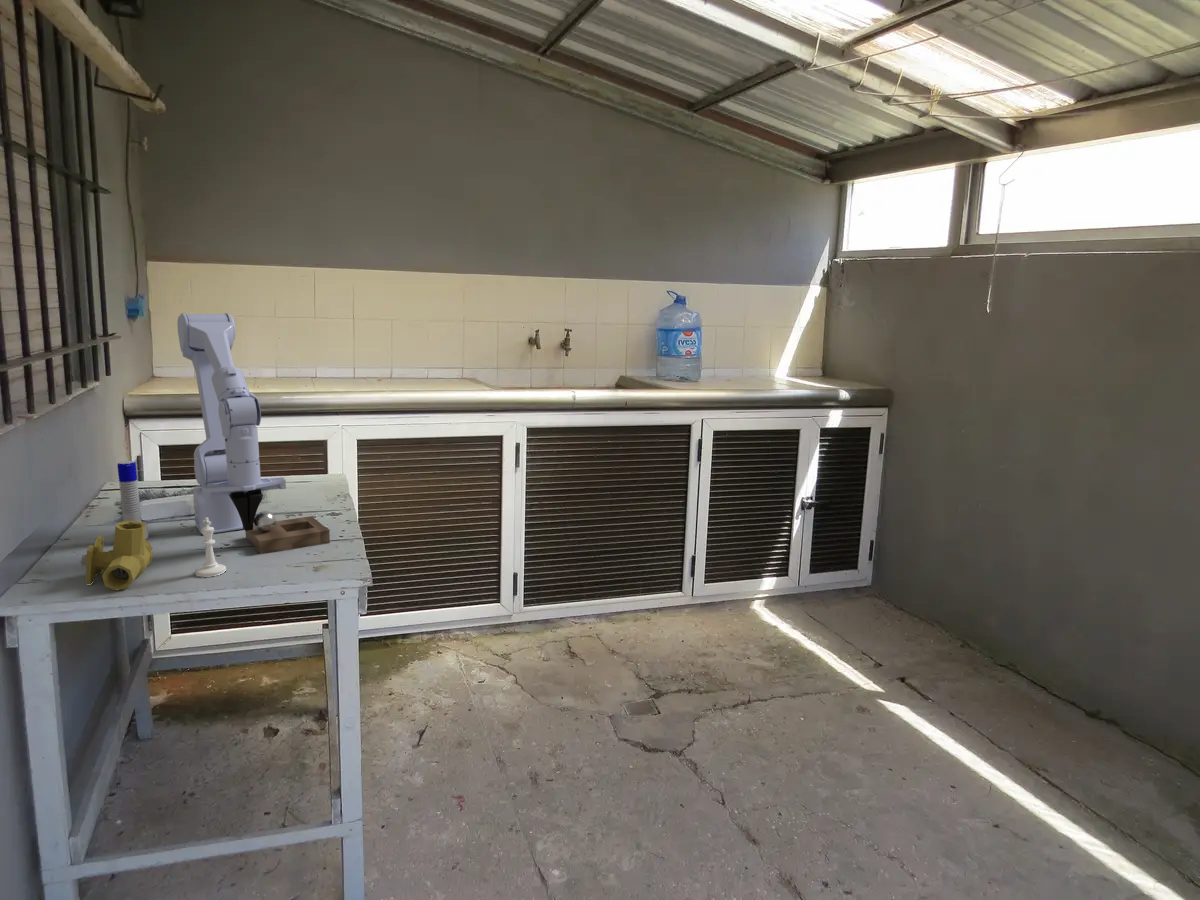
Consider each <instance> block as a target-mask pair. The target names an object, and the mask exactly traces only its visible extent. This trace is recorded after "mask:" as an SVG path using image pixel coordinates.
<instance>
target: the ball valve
mask: <svg viewBox="0 0 1200 900" xmlns="http://www.w3.org/2000/svg"><path fill="white" fill-rule="evenodd" d="M114 528H115V529H114V535H113V536H114V538H113V547H112V549H110V550H108V551H104V539H105V538H104V536H103V535H99V536H97V538H96V539H95V542H94V545H91V544H90V545H88V547H87V550H86V554H83V555H81V561H80V563H81V565H82V566H84V567H85V566H86V570H85V571H86V574H85V576H86V577H85V585H86V584H91V583H92V582H93V581H95V579H96V576H97V574H99V575H101V574H102V575H101V576H102V581H103V583H104V586H105V587H107V588H109V589H111V590H113V591H115V590H116V589H122V590H127V589H128V588H129V587H130V586H131V584H132V583H133V582H134V580H135V579H136V578H138V577H139V576H140V575H142V574H143V573H144V572H145V570H146V568H148V567H149V566H150V564H151V563H152V561H153V547H152V545H151V544H150V542H149V540H148V539H146V540H145V523H142V522H139V521H124V522H123V521H119V522H118V523H116V525H115V527H114ZM103 571H104V572H103ZM102 572H103V573H102ZM93 583H94V582H93ZM93 583H92V584H93Z"/></svg>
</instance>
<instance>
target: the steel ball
mask: <svg viewBox="0 0 1200 900" xmlns="http://www.w3.org/2000/svg"><path fill="white" fill-rule="evenodd" d="M276 521H277V518H276V516H275V514H273V512H270V511H268V510H262V511H260V512H258V513H256V515H255V519H254V525H255V527H256V528H257V529H258V530H259V531H263V532H266V531H270V530H271V529H273V528H274V526H275V524H276Z"/></svg>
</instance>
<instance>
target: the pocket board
mask: <svg viewBox="0 0 1200 900" xmlns="http://www.w3.org/2000/svg"><path fill="white" fill-rule="evenodd" d="M244 531H245V530H244ZM245 539H248V540H249V541H250V542H251V543H252V544H251V543H250V542H249V541H248V540H247V541H248V542H249V543H250V544H251V545H252V547H253V548H254V549H255V548H256V549H257V550H258V551H257V550H256V549H255V550H256V551H257V553H259V554H260V555H262V554H261V553H263V554H268V553H269V554H270V553H274V552H281V551H285V550H286V551H287V550H292V549H298V548H306V547H310V546H311V547H312V546H317V545H322V544H323V545H324V544H330V543H331V540H330V539H331V537H330V530H329V529H328V528H327V527H325V525H323V524H322V523H321V522H320V521H318V520H317V519H316V518H314V517H313V516H312V515H311V516H309V515H308V516H304V517H297V518H296V517H295V518H291V519H290V518H288V519H282V520H276V524H275V526H274V528H273V529H271V530H270V531H266V532H263V531H259V530H258V529H257V528H256V527H255V525H254V524H253V530H249V531H245Z"/></svg>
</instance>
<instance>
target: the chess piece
mask: <svg viewBox="0 0 1200 900" xmlns="http://www.w3.org/2000/svg"><path fill="white" fill-rule="evenodd" d="M203 523H204V524H205V526H206V527H204V528H202V529H201V531H202V533H203V534H202V535H203V537H204V540H203V541H202V542H201V544H202V545H204V546H205V560H204V563H203V564H202V566H200V567H198V568H196V570H195V575H196V574H197V575H198V576H204V577H207V578H210V577H209V576H215V577H217V576H216V575H219V576H221V575H220V574H222V573H224V572H225V571H226V570H227V567H226V566H225V565H224V564H220V563H218V562H217V561H216V558H215V554H214V548H213V547H214V546H213V544H215V543H216V540H215V539H213V535H214V533H213V531H214V528H213V527H209V525H210V524H211V522H210V521H209V518H208V517H206V518H205V520H204V521H203ZM226 572H227V571H226ZM224 574H225V573H224ZM222 575H223V574H222ZM198 576H197V577H198ZM204 577H203V578H204Z"/></svg>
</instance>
